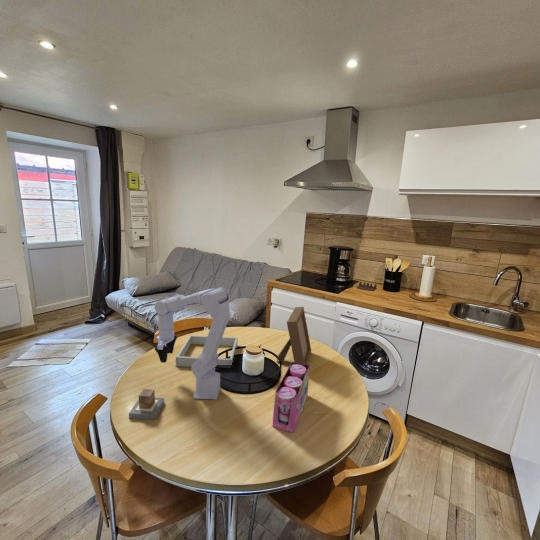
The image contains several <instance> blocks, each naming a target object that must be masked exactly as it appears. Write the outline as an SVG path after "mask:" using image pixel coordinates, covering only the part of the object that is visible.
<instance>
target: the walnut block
mask: <svg viewBox="0 0 540 540" xmlns="http://www.w3.org/2000/svg"><path fill="white" fill-rule="evenodd" d="M155 395H156V394H155V389H151V388H143V389H142V390H141V391H140V393H139V395H138V399H139V408H144V409H151V407H152V405H153V404H154V402H155V398H156V397H155Z"/></svg>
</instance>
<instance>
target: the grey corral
mask: <svg viewBox="0 0 540 540" xmlns="http://www.w3.org/2000/svg"><path fill="white" fill-rule="evenodd" d="M207 336H208V335H194V334H191V335H188V337H187V339H186V341H185V342H184V343H183V345H182V347H181V348H180V349H179V351H178V353H177V355H176V356H175V367H189V368H190V367H191V368H192V365H193V363H195V362H196V359H197V358H198V356H186V353H187V352H188V351H189V348H190V347H191V345H205V342H206V339H207ZM219 346H226V347H228V346H229V347H232V350H231V352H230V357H229V358H225V357H223V358H222V357H221V358H219V357H218V365H232V362H233V363H234V361H233V358H234V359H235V357H234V355H235V356H236V352H237V349H236V350H235V348H238V337H234V336H233V337H232V336H223V337H222V339H221V342H220V345H219ZM232 366H233V365H232Z"/></svg>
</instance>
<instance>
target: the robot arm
mask: <svg viewBox="0 0 540 540" xmlns="http://www.w3.org/2000/svg"><path fill="white" fill-rule="evenodd" d="M230 300H231V297H230V295H229V292H228V290H227V289H226V288H224V287H220V286H219V287H217V288H209V289H204V290H201V291H197V292H194V293H192V294H189V295H184V294H179V293H176V294H174V295H173V296H171V297H170V296H166V297H165V298H163V299H161V300H158V301H157V302H155V304H154V310H155V313H156V314H157V319H158V335H157V336H156V340H157V341H158V343H157V345H155V347H154V351H156V353H157V355H158V357H159V361H160V363H164V364H165V363H167V360H168V354H173V352H174V347H175V344H176V341H177V339H178V336H177V335H175V330H174V315H175V311H180V310H184V309H186V307H187V306H188V305H189V304H194V303H198V304H199V306H202V307H203V308H204V310H205V311H206V312H207V313H208V315H209V316H210V317H211V318H213V319H212V322H211V325H210V328H209V331H208V334H207V335H206V336H207V339H206V342H205V344H203V348H202V350H201V352H200V354H199V355H198V356H197V357H198V358H197V359H196V362H195V363H193V365H192V367H191V371H192V374H193V375H194V376H195V391H194V394H193V396H192V399H197V400H217V399H218V397H219V394H220V392H221V391H220V390H221V373H220V372H217V371H216V368H215V367H216V366H217V365H218V358H219V355H220V354H219V353H218V350H219V348H220V346H221V345H220V342H221V339H222V337H224V334H225V331H226V328H227V325H228V322H229V320H230V317H231V315H230V313H231V312H230Z"/></svg>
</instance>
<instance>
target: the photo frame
mask: <svg viewBox="0 0 540 540" xmlns="http://www.w3.org/2000/svg"><path fill="white" fill-rule="evenodd" d="M305 313H306V311H305V307H304V306H297V307H294V309H293V311H292V312H291V314H290V316H289V318H288V319H287V321H286V325H287V330H288V336H289V339H288V340H287V342H286V343H285V345H284V346H283V347H282V349H281V350H280V352H279V353H278V354H277V360H276V363H277V364H279V363H280V362H279V361H278V358H279V359H280V360H281V362H284V361H285V359H286V357H287V354H288V352H289V350H290V349H291V351H292V356H293V357H292V358H293V362H297V363H302V364H306V365H309V361H310V358H311V354H312V346H311V341H310V335H309V330H308V325H307V319H306V314H305Z"/></svg>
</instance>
